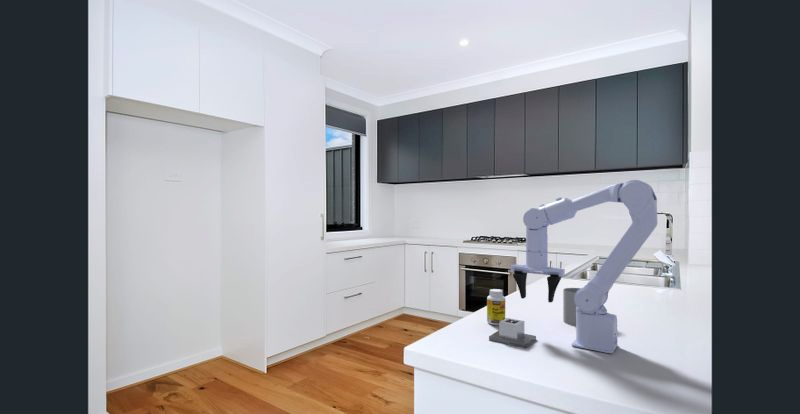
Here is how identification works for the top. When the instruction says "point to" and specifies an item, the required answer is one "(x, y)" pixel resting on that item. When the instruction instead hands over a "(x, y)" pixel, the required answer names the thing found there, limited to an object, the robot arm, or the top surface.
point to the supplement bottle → (495, 307)
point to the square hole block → (511, 329)
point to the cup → (569, 306)
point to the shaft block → (521, 342)
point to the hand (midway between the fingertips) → (536, 299)
